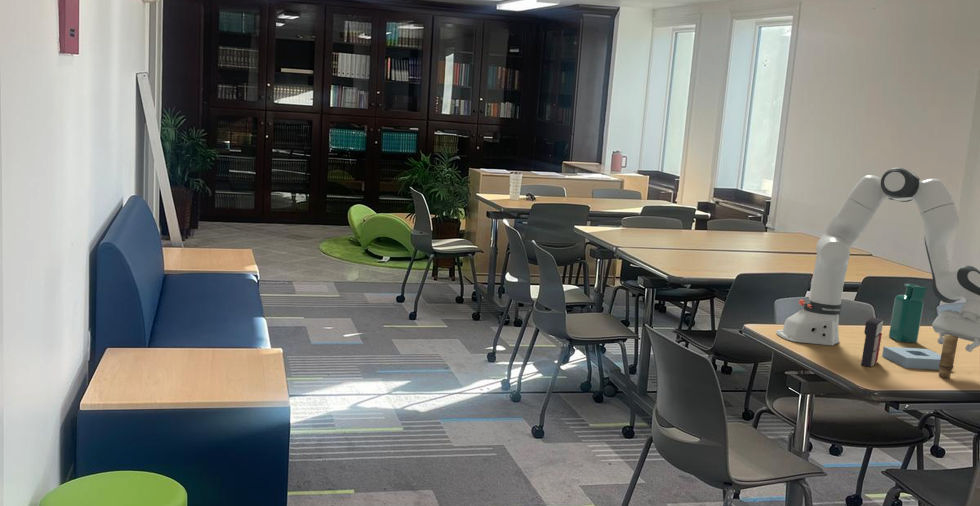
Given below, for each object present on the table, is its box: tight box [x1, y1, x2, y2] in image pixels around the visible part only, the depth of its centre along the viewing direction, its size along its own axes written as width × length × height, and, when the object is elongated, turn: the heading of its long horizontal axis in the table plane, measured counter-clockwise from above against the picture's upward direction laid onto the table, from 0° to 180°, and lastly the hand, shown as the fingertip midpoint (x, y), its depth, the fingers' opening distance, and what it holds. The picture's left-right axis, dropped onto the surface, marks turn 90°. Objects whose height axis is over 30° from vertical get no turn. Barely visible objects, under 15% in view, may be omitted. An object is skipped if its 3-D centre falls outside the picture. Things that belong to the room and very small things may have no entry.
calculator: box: [860, 316, 884, 368], centre depth 312 cm, size 11×4×15 cm, turn 148°
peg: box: [938, 334, 959, 380], centre depth 303 cm, size 4×4×14 cm
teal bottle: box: [888, 283, 927, 344], centre depth 353 cm, size 10×8×22 cm
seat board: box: [881, 346, 941, 371], centre depth 320 cm, size 17×14×4 cm
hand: (953, 346), depth 304 cm, fingers open, 8 cm apart
